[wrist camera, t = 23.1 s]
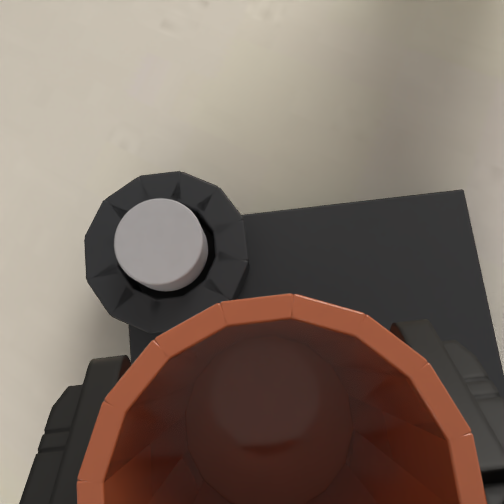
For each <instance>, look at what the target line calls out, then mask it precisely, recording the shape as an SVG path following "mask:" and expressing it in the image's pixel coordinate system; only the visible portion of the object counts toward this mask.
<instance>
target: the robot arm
mask: <svg viewBox="0 0 504 504" xmlns="http://www.w3.org/2000/svg"><path fill="white" fill-rule="evenodd" d="M390 332H391V333H393V334H394V335H395V336H397V337H398V338H399V339H401V340H402V341H403V342H405V343H406V344H407V345H408V346H410V347H411V348H412V349H414V350H415V351H416V352H418V353H419V354H420V355H422V356H423V357H424V358H426V360H427V362H429V363H430V364H431V366H432V367H433V369H434V370H435V372H436V374H437V375H438V377H439V378H440V380H441V382H442V383H443V385H444V387H445V388H446V390H447V391H448V393H449V395H450V396H451V398H452V399H453V401H454V403H455V404H456V406H457V407H458V409H459V411H460V412H461V414H462V416H463V417H464V419H465V420H466V422H467V424H468V425H469V427H470V428H471V433H472V434H473V436H474V441H475V446H476V451H477V456H478V461H479V466H480V471H481V476H482V481H483V486H484V491H485V496H486V501H487V504H504V399H503V397H500V395H499V391H498V390H497V388H496V386H495V385H494V383H493V382H492V380H489V376H488V374H487V372H486V371H485V369H484V368H483V366H482V365H481V363H480V362H479V360H478V358H477V357H476V356H475V355H474V354H473V353H472V352H470V351H469V350H468V349H467V348H465V347H464V346H463V345H462V344H460V343H459V342H458V341H456V340H448V341H441V339H440V338H439V336H438V334H437V333H436V331H435V329H434V327H433V326H432V324H431V323H430V321H429V320H427V319H421V320H412V321H404V322H395V323H392V325H391V329H390ZM130 366H131V363H130V360H129V358H128V356H126V355H123V356H115V357H106V358H98V359H92V360H91V361H90V363H89V366H88V369H87V372H86V376H85V379H84V383H83V385H76V386H68V388H67V389H66V390H65V391H64V393H63V394H62V395H61V397H60V398H59V399H58V400H57V402H56V403H55V404H54V405H53V407H52V409H51V412H50V415H49V418H48V421H47V424H46V427H45V430H44V431H45V434H44V435H42V438H41V441H40V444H39V447H38V454H36V456H35V459H34V462H33V465H32V468H31V471H30V474H29V477H28V479H27V482H26V485H25V488H24V491H23V494H22V497H21V500H20V503H19V504H77V485H76V484H77V481H78V474H79V471H80V468H81V465H82V462H83V458H84V455H85V452H86V449H87V446H88V443H89V440H90V437H91V434H92V431H93V428H94V425H95V422H96V419H97V416H98V413H99V410H100V407H101V404H102V403H103V401H105V400H104V399H105V397H106V396H107V394H108V393H109V392H110V391H111V390H112V388H113V387H114V386H115V385H116V383H117V382H118V381H119V380H120V379H121V377H122V376H123V375H124V374H125V372H126V371H127V370H128V369H129V368H130Z"/></svg>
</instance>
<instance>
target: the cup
mask: <svg viewBox="0 0 504 504" xmlns="http://www.w3.org/2000/svg"><path fill="white" fill-rule="evenodd" d="M104 400H105V401H103V403H102V404H101V407H100V410H99V413H98V416H97V419H96V422H95V425H94V428H93V431H92V434H91V437H90V440H89V443H88V446H87V449H86V452H85V455H84V458H83V462H82V465H81V468H80V471H79V474H78V481H77V484H76V485H77V504H487V501H486V496H485V491H484V486H483V481H482V476H481V471H480V466H479V461H478V456H477V451H476V446H475V441H474V436H473V434H472V433H471V428H470V427H469V425H468V424H467V422H466V420H465V419H464V417H463V416H462V414H461V412H460V411H459V409H458V407H457V406H456V404H455V403H454V401H453V399H452V398H451V396H450V395H449V393H448V391H447V390H446V388H445V387H444V385H443V383H442V382H441V380H440V378H439V377H438V375H437V374H436V372H435V370H434V369H433V367H432V366H431V364H430V363H429V362H427V360H426V358H424V357H423V356H422V355H420V354H419V353H418V352H416V351H415V350H414V349H412V348H411V347H410V346H408V345H407V344H406V343H405V342H403V341H402V340H401V339H399V338H398V337H397V336H395V335H394V334H393V333H391V332H390V331H389V330H387V329H386V328H385V327H383V326H382V325H381V324H380V323H378V322H377V321H376V320H374V319H373V318H372V317H370V316H369V315H365V314H364V313H363V312H360V311H357V310H353V309H349V308H346V307H342V306H339V305H335V304H331V303H328V302H324V301H321V300H317V299H314V298H310V297H306V296H303V295H299V294H294V295H293V294H291V293H288V294H279V295H271V296H262V297H254V298H245V299H237V300H228V301H222V302H221V303H216V304H214V305H213V306H211V307H209V308H207V309H205V310H204V311H202V312H200V313H198V314H196V315H195V316H193V317H191V318H189V319H187V320H186V321H184V322H182V323H180V324H178V325H177V326H175V327H173V328H171V329H169V330H168V331H166V332H164V333H162V334H160V335H159V336H157V337H156V338H155V340H152V341H151V342H150V343H149V344H148V346H147V347H146V348H145V349H144V350H143V352H142V353H141V354H140V355H139V357H138V358H137V359H136V360H135V361H134V363H133V364H132V365H131V366H130V368H129V369H128V370H127V371H126V372H125V374H124V375H123V376H122V377H121V379H120V380H119V381H118V382H117V383H116V385H115V386H114V387H113V388H112V390H111V391H110V392H109V393H108V394H107V396H106V397H105V399H104Z"/></svg>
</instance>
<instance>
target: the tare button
mask: <svg viewBox="0 0 504 504" xmlns="http://www.w3.org/2000/svg"><path fill="white" fill-rule="evenodd" d="M114 250H115V255H116V258H117V260H118V263H119V264H120V266H121V268H122V269H123V270H124V271H125V273H127V274H128V275H129V276H130V277H131V278H133V279H134V280H136V281H138V282H139V283H141V284H143V285H145V286H147V287H148V288H151V289H154V290H157V291H174V290H178V289H181V288H183V287H186V286H187V285H189V284H191V283H192V282H193V281H194V280H195V279H196V278H197V277H198V276H199V275H200V273H201V272H202V270H203V269H204V267H205V264H206V261H207V257H208V243H207V239H206V236H205V234H204V232H203V229H202V227H201V225H200V223H199V221H198V219H197V217H196V216H195V215H194V213H193V212H192V211H191V210H190V209H189V208H187V207H186V206H185V205H183V204H181V203H179V202H177V201H174V200H170V199H162V198H159V199H151V200H147V201H144V202H142V203H139V204H138V205H136V206H134V207H133V208H132V209H130V210H129V211H128V212H127V213H126V214H125V215H124V217H123V218H122V219H121V221H120V223H119V225H118V227H117V229H116V233H115V238H114Z"/></svg>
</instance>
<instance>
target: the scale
mask: <svg viewBox="0 0 504 504" xmlns="http://www.w3.org/2000/svg"><path fill="white" fill-rule="evenodd" d="M159 198H162V199H170V200H174V201H177V202H179V203H181V204H183V205H185V206H186V207H187V208H189V209H190V210H191V211H192V212H193V213H194V215H195V216H196V217H197V219H198V221H199V223H200V225H201V227H202V229H203V232H204V234H205V236H206V239H207V243H208V257H207V261H206V264H205V267H204V269H203V270H202V272H201V273H200V275H199V276H198V277H197V278H196V279H195V280H194V281H193V282H192V283H191V284H189V285H187V286H186V287H183V288H181V289H178V290H174V291H157V290H154V289H151V288H148V287H147V286H145V285H143V284H141V283H139V282H138V281H136V280H134V279H133V278H131V277H130V276H129V275H128V274H127V273H125V271H124V270H123V269H122V268H121V266H120V264H119V263H118V260H117V258H116V255H115V250H114V238H115V233H116V229H117V227H118V225H119V223H120V221H121V219H122V218H123V217H124V215H125V214H126V213H127V212H128V211H129V210H130V209H132V208H133V207H134V206H136V205H138V204H139V203H142V202H144V201H147V200H151V199H159ZM84 241H85V263H86V279H87V282H88V284H89V285H90V287H91V288H92V290H93V291H94V293H95V294H96V296H97V297H98V298H99V300H100V301H101V303H102V304H103V306H104V307H105V309H106V310H107V312H108V313H109V314H110V315H111V316H112V317H114V318H116V319H118V320H120V321H123V322H125V323H127V324H129V337H130V353H131V365H132V364H133V363H134V361H135V360H136V359H137V358H138V357H139V355H140V354H141V353H142V352H143V350H144V349H145V348H146V347H147V346H148V344H149V343H150V342H151V341H152V340H155V338H156V337H157V336H159V335H160V334H162V333H164V332H166V331H168V330H169V329H171V328H173V327H175V326H177V325H178V324H180V323H182V322H184V321H186V320H187V319H189V318H191V317H193V316H195V315H196V314H198V313H200V312H202V311H204V310H205V309H207V308H209V307H211V306H213V305H214V304H216V303H221V302H222V301H228V300H237V299H245V298H254V297H262V296H271V295H279V294H288V293H291V294H293V295H294V294H299V295H303V296H306V297H310V298H314V299H317V300H321V301H324V302H328V303H331V304H335V305H339V306H342V307H346V308H349V309H353V310H357V311H360V312H363V313H364V314H365V315H369V316H370V317H372V318H373V319H374V320H376V321H377V322H378V323H380V324H381V325H382V326H383V327H385V328H386V329H387V330H389V331H390V329H391V325H392V323H395V322H404V321H412V320H421V319H427V320H429V321H430V323H431V324H432V326H433V327H434V329H435V331H436V333H437V334H438V336H439V338H440V339H441V341H448V340H456V341H458V342H459V343H460V344H462V345H463V346H464V347H465V348H467V349H468V350H469V351H470V352H472V353H473V354H474V355H475V356H476V357H477V358H478V360H479V362H480V363H481V365H482V366H483V368H484V369H485V371H486V372H487V374H488V376H489V380H492V382H493V383H494V385H495V386H496V388H497V390H498V391H499V395H500V397H503V399H504V375H503V370H502V365H501V361H500V356H499V352H498V347H497V342H496V338H495V333H494V329H493V324H492V319H491V315H490V310H489V306H488V301H487V296H486V292H485V287H484V282H483V278H482V273H481V269H480V264H479V259H478V255H477V250H476V246H475V241H474V236H473V232H472V227H471V223H470V218H469V213H468V209H467V204H466V199H465V195H464V191H463V190H454V191H446V192H437V193H428V194H420V195H411V196H402V197H393V198H385V199H376V200H367V201H359V202H350V203H341V204H333V205H324V206H315V207H307V208H298V209H289V210H280V211H272V212H263V213H254V214H246V215H241V214H240V213H239V212H238V210H237V209H236V208H235V207H234V205H233V204H232V203H231V201H230V200H229V199H228V197H227V196H226V195H225V193H224V192H223V191H222V190H221V188H218V186H216V185H213V184H211V183H209V182H206V181H204V180H201V179H199V178H196V177H194V176H192V175H189V174H187V173H184V172H180V171H177V172H168V173H159V174H150V175H142V176H140V177H137V178H136V179H134V180H133V181H131V182H130V183H128V184H127V185H125V186H124V187H122V188H121V189H119V190H118V191H117V192H115V193H114V194H112V195H111V196H109V197H108V198H106V199H105V200H104V201H103V202H102V204H101V206H100V208H99V210H98V212H97V214H96V216H95V218H94V220H93V222H92V224H91V226H90V227H89V229H88V231H87V233H86V235H85V240H84Z"/></svg>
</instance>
